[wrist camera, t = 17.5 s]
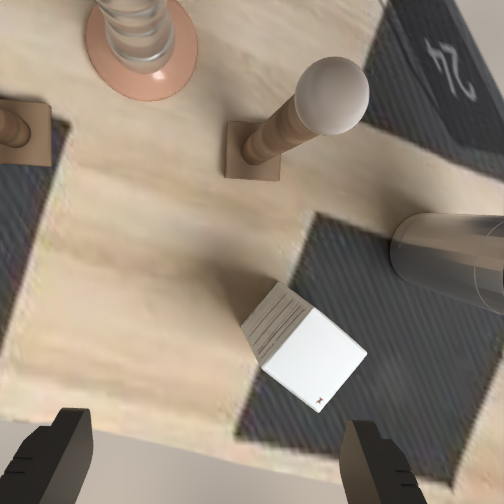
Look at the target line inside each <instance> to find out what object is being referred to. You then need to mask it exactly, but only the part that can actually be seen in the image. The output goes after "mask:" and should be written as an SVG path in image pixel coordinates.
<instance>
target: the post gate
mask: <svg viewBox="0 0 504 504" xmlns="http://www.w3.org/2000/svg"><path fill="white" fill-rule="evenodd" d="M368 101H369V85H368V81H367V78H366V76H365V74H364V73H363V71H362V70H361V69H360V67H359V66H357V65H356V64H355V63H354V62H352V61H350V60H348V59H345V58H342V57H327V58H324V59H321V60H319V61H317V62H315V63H313V64H312V65H311V66H310V67H308V68H307V69H306V70H305V72H304V73H303V74H302V76H301V77H300V79H299V81H298V84H297V86H296V90H295V94H294V95H293V96H292V97H291V98H290V99H289V100H288V101H286V102H285V103H284V104H283V105H282V106H281V107H280V108H279V109H278V110H277V111H276V112H275V113H274V114H273V115H272V116H271V117H270V118H269V119H268V120H267V121H266V122H264V123H263V124H260V123H249V122H238V121H228V123H227V141H226V165H225V178H233V179H248V180H264V181H279V180H280V162H281V153H283V152H285V151H287V150H289V149H292V148H294V147H296V146H298V145H300V144H302V143H304V142H306V141H308V140H310V139H312V138H314V137H316V136H318V135H325V136H333V135H338V134H342V133H344V132H346V131H348V130H349V129H351V128H352V127H354V126H355V125H356V124H357V123H358V122H359V121H360V119H361V118H362V117H363V115H364V113H365V111H366V108H367V105H368ZM0 163H1V164H16V165H32V166H47V167H52V137H51V106H50V105H48V104H45V103H34V102H24V101H13V100H2V99H0Z"/></svg>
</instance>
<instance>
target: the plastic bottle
mask: <svg viewBox="0 0 504 504" xmlns="http://www.w3.org/2000/svg"><path fill="white" fill-rule="evenodd" d="M95 2H96V3H97V4H98V6H99V8H100V10H101V12H102V13H103V15H104V19H105V32H106V39H107V42H108V46H109V48H110V50H111V52H112V54H113V55H114V56H115V58H116V59H117V60H118V61H119V62H120V63H121V64H122V65H123V66H124V67H126V68H127V69H129V70H130V71H133V72H135V73H139V74H150V73H154V72H157V71H159V70H160V69H162V68H163V67H164V66H165V65H166V64H167V63H168V62H169V60H170V58H171V56H172V54H173V51H174V48H175V42H176V32H175V28H174V24H173V21H172V18H171V16H170V13H169V11H168V7H167V0H95Z"/></svg>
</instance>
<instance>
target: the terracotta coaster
mask: <svg viewBox="0 0 504 504" xmlns="http://www.w3.org/2000/svg"><path fill="white" fill-rule="evenodd" d="M167 7H168V11H169V13H170V16H171V18H172V21H173V24H174V28H175V32H176V42H175V48H174V51H173V54H172V56H171V58H170V60H169V62H168V63H167V64H166V65H165V66H164V67H163V68H162V69H160V70H159V71H157V72H154V73H150V74H139V73H135V72H133V71H130V70H129V69H127V68H126V67H124V66H123V65H122V64H121V63H120V62H119V61H118V60H117V59H116V58H115V56H114V55H113V54H112V52H111V50H110V48H109V46H108V42H107V39H106V32H105V19H104V15H103V13H102V12H101V10H100V8H99V6H98V4H96V5H95V6H94V8H93V10H92V12H91V14H90V16H89V19H88V23H87V27H86V44H87V50H88V53H89V56H90V59H91V61H92V63H93V65H94V67H95V69H96V70H97V72H98V74H99V75H100V76H101V78H102V79H103V80H104V81H105V82H106V83H107V84H108V85H109V86H110V87H111V88H112V89H114V90H115V91H117V92H118V93H120V94H122V95H124V96H126V97H128V98H131V99H135V100H140V101H157V100H161V99H165V98H167V97H170V96H171V95H173V94H175V93H176V92H178V91H179V90H180V89H181V88H182V87H183V86H184V85H185V84H186V83H187V81H188V80H189V79H190V77H191V75H192V73H193V70H194V68H195V64H196V60H197V50H198V49H197V37H196V33H195V29H194V27H193V24H192V22H191V20H190V18H189V16H188V14H187V13H186V12H185V10H184V9H183V8H182V6H181V5H180V4H179V3H178V2H177V1H176V0H167Z"/></svg>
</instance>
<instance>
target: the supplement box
mask: <svg viewBox="0 0 504 504" xmlns="http://www.w3.org/2000/svg"><path fill="white" fill-rule="evenodd" d="M241 329H242V331H243V333H244V334H245V336H246V339H247V341H248V343H249V344H250V347H251V349H252V351H253V353H254V355H255V357H256V359H257V361H258V363H259V365H260V366H261V368H262V369H263V370H264V371H265V372H266V373H268V374H269V375H270V376H272V377H273V378H274V379H275V380H277V381H278V382H279V383H281V384H282V385H283V386H284V387H286V388H287V389H288V390H289V391H290V392H292V393H293V394H294V395H296V396H297V397H299V398H300V399H301V400H302V401H304V402H305V403H306V404H307V405H309V406H310V407H311V408H313V409H314V410H315V411H316V412H318V413H319V412H320V411H321V409H322V408H323V407H324V406H325V405H326V403H327V402H328V401H329V400H330V399H331V397H332V396H333V395H334V394H335V393H336V391H337V390H338V389H339V388H340V387H341V385H342V384H343V383H344V382H345V381H346V379H347V378H348V377H349V376H350V375H351V373H352V372H353V371H354V370H355V368H356V367H357V366H358V365H359V364H360V363H361V361H362V360H363V359H364V357H365V356H366V355H367V352H366V351H365V350H364V349H363V348H362V347H361V346H360V345H358V344H357V343H356V342H355V341H354V340H353V339H352V338H351V337H350V336H349V335H347V334H346V333H345V332H344V331H343V330H342V329H341V328H339V327H338V326H337V325H336V324H335V323H334V322H332V321H331V320H330V319H329V318H328V317H326V316H325V315H324V314H323V313H321V312H320V311H319V310H317V309H316V308H315V307H313V306H312V305H311V304H309V303H308V302H307V301H305V300H304V299H303V298H301V297H300V296H299V295H298V294H296V293H295V292H293V291H292V290H291V289H289V288H288V287H287V286H285V285H284V284H282V283H281V282H280V281H279V282H278V283H277V284H276V285H275V286H274V287H273V288H272V290H271V291H270V292H269V293H268V294H267V296H266V297H265V298H264V299H263V300H262V301H261V303H260V304H259V305H258V306H257V307H256V309H255V310H254V311H253V312H252V313H251V314H250V316H249V317H248V318H247V319H246V320H245V321H244V323H243V324H242V325H241Z"/></svg>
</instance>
